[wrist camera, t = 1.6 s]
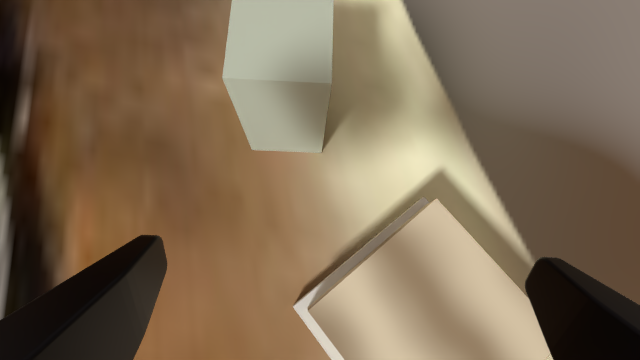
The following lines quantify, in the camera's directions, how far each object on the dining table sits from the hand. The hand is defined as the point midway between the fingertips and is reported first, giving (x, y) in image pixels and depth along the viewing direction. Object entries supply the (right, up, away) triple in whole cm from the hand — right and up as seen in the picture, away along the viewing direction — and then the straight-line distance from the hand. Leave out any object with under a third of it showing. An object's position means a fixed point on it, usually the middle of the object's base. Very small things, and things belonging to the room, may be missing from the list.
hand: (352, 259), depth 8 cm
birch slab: (+6, -7, +12) cm, 15 cm away
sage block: (-3, +6, +16) cm, 18 cm away
